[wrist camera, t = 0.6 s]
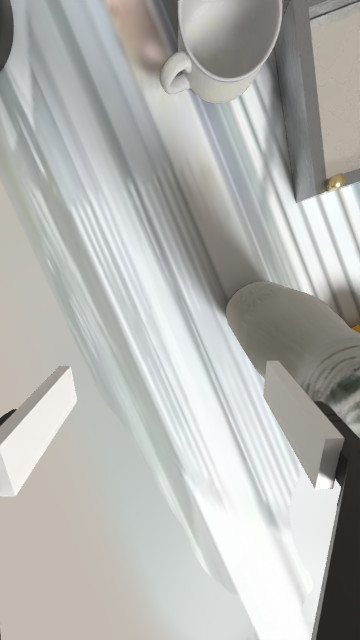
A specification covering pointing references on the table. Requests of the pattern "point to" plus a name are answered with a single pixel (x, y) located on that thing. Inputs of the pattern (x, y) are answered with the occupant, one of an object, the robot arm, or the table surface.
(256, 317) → the grey bottle
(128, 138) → the table surface
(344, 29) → the grey serving tray
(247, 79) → the teacup
